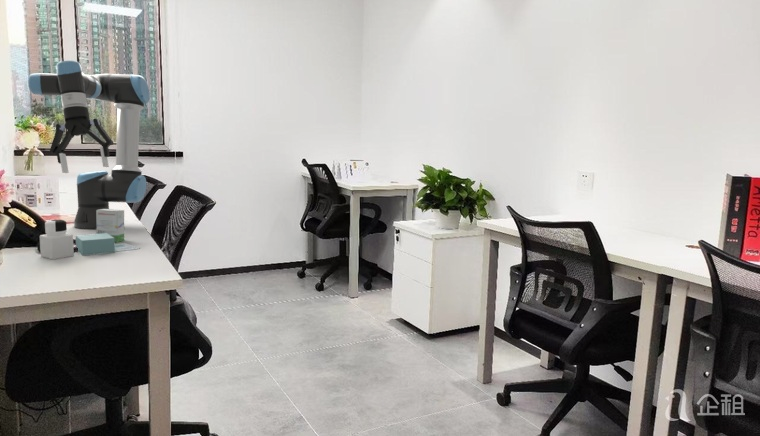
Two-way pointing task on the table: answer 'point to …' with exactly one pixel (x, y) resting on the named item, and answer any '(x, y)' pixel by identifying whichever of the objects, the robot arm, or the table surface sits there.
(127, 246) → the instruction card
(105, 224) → the ink box
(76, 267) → the table surface
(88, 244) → the base brick
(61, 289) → the table surface
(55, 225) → the grey stepped block
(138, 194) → the robot arm
